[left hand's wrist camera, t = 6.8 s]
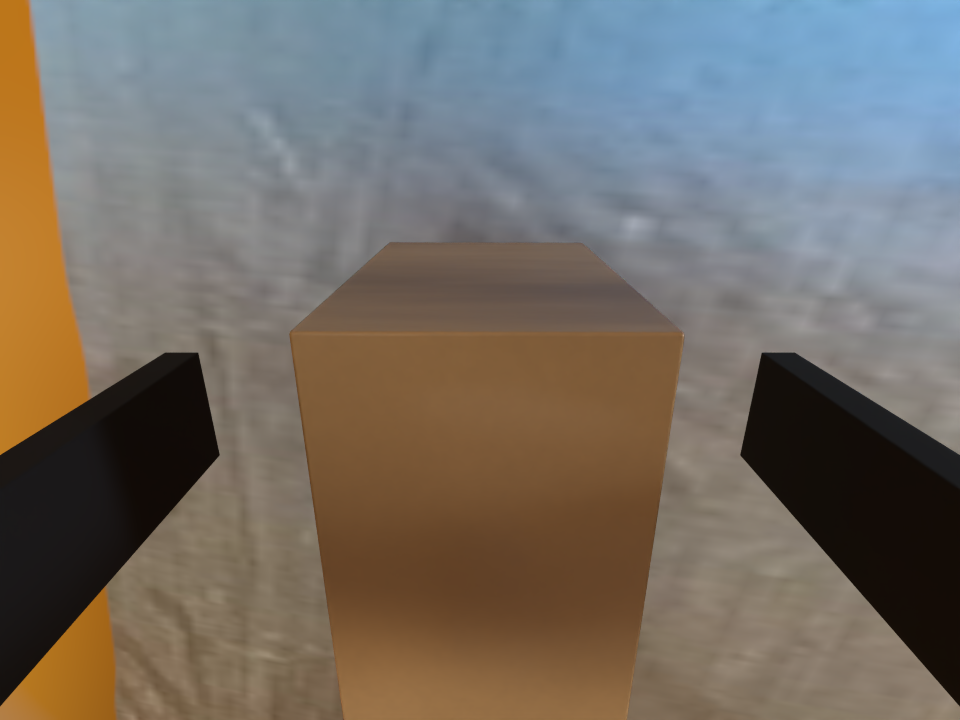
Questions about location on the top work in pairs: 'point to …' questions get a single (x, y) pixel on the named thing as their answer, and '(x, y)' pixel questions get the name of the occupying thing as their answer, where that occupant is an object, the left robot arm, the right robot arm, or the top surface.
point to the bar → (486, 478)
